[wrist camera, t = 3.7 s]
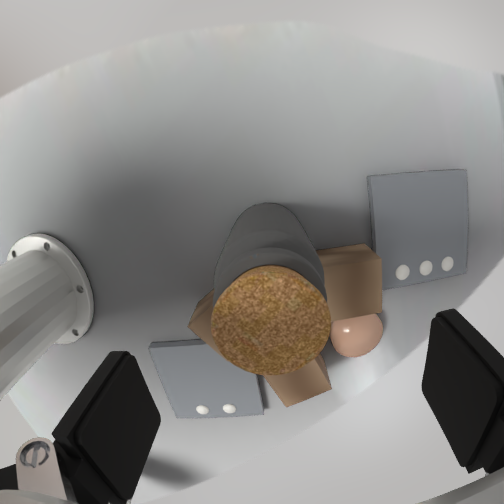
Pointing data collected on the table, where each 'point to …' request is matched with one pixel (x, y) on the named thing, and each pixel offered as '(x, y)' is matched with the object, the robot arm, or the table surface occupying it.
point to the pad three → (419, 225)
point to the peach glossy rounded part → (356, 335)
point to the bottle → (269, 294)
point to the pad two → (204, 381)
